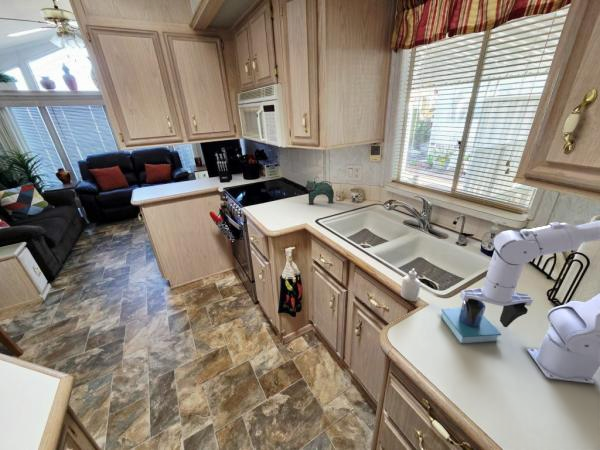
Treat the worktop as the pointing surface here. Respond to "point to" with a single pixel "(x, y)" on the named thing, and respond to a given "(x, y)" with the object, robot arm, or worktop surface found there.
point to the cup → (464, 315)
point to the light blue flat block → (469, 328)
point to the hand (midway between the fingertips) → (486, 322)
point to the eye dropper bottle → (410, 286)
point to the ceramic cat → (319, 190)
